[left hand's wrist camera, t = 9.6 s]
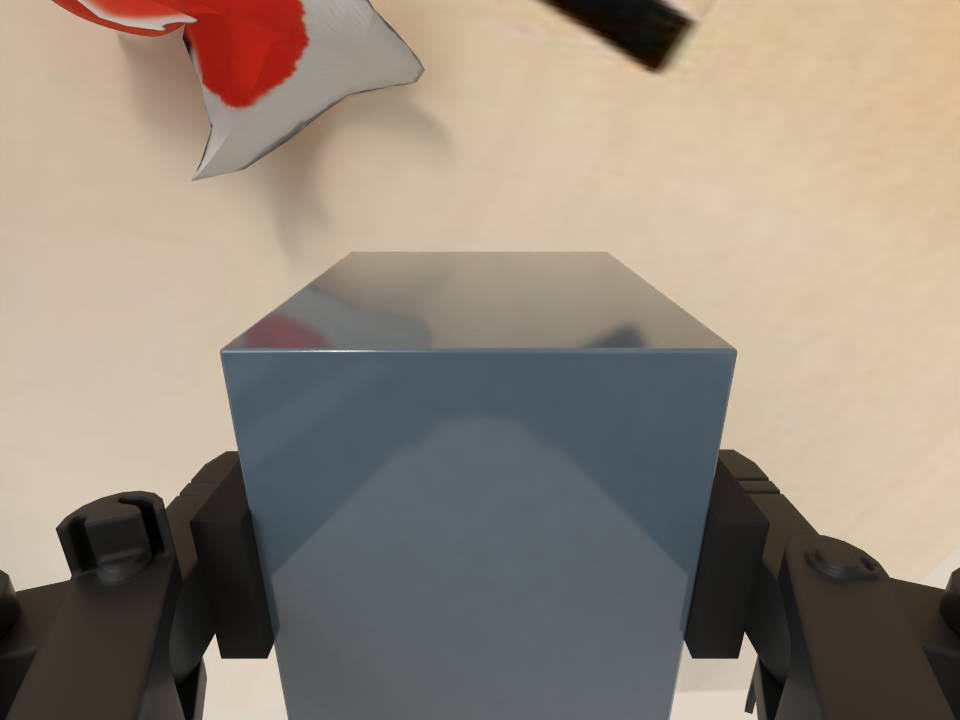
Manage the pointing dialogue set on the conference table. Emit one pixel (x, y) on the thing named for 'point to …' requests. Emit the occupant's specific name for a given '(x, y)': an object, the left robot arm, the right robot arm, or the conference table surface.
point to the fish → (267, 62)
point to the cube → (478, 484)
